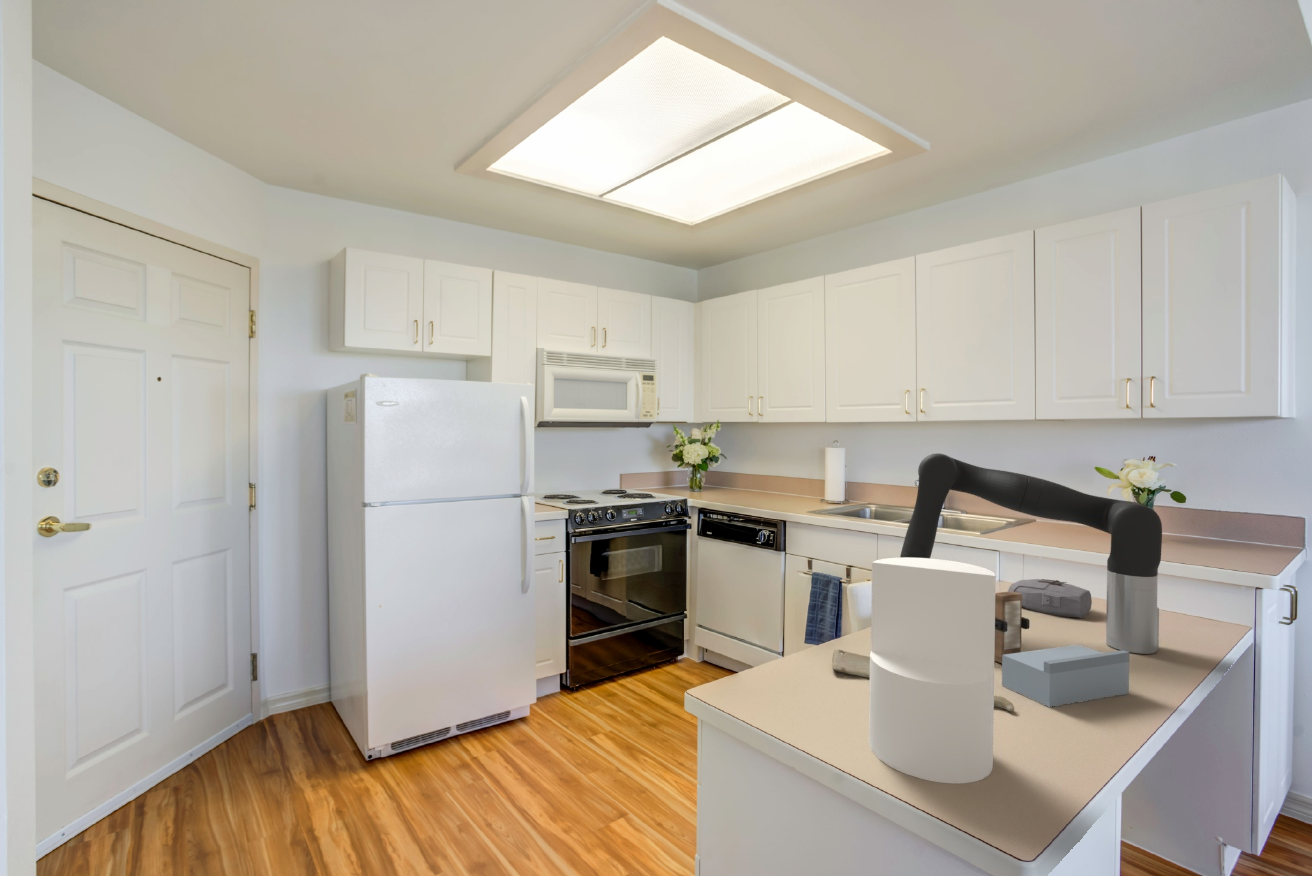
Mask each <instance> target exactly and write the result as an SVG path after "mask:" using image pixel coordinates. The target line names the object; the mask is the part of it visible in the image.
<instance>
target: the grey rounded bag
mask: <svg viewBox="0 0 1312 876" xmlns="http://www.w3.org/2000/svg"><path fill="white" fill-rule="evenodd" d="M1011 591H1013V592H1016V593H1020V594H1022V609H1026V610H1029V611H1032V612H1036V613H1037V612H1038V613H1041V612H1043V613H1042V614H1046V615H1052V614H1053V615H1052V616H1058V617H1065V616H1066V617H1067V618H1068V617H1069V618H1077V619H1078V618H1079V619H1082V617H1083V618H1085V617H1087V616H1088V615H1089V613H1090V612H1091V609H1092V604H1093V602H1092V594H1091V592H1090V590H1088V589H1085V588H1082V587H1079V586H1076V585H1073V584H1070V583H1068V582H1067V581H1060V580H1058V579H1057V580H1054V579H1045V578H1036V579H1035V578H1033V579H1021V580H1017V581H1016V582H1014V583H1011V584H1010V585H1009V587H1008V589H1007V592H1011ZM1087 614H1088V615H1087ZM1086 615H1087V616H1086ZM1084 616H1085V617H1084Z"/></svg>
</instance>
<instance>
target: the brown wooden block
mask: <svg viewBox="0 0 1312 876" xmlns="http://www.w3.org/2000/svg"><path fill="white" fill-rule="evenodd" d="M1022 609H1023V607H1022V594H1020V593H1016V592H1013V591H1011V592H1008V591H1003V592H995V618H997V619H1000V620H1003V621H1006V622H1007V632H1002V631H999V630H996V629H995V651H994V662H997V663H1000V664H1002V655H1005V654H1012V653H1020V652H1022V628H1021V618H1022V617H1023V616H1022V615H1023V613H1022V612H1023V611H1022Z"/></svg>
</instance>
